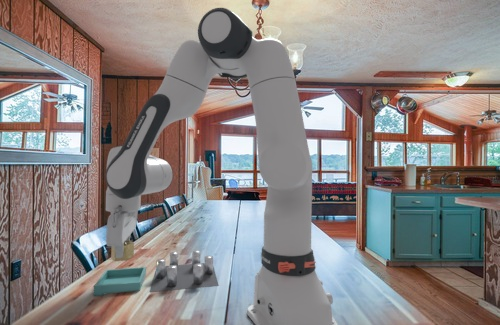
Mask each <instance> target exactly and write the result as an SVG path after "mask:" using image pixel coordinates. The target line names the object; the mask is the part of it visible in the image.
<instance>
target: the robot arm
mask: <svg viewBox="0 0 500 325" xmlns="http://www.w3.org/2000/svg"><path fill="white" fill-rule="evenodd" d="M197 36H198V41H197V40H186V41H184V42H183V43H181V45H180V46H179V47H178V49H177V51H176V52H175V54H174V55H173V58H172V59H171V61H170V63H169V66H168V68H167V70H166V73H165V75H164V78H163V79H162V82H161V85H160V86H159V88H158V89H157V90H156V92H155V93H154V94H153V95H152V96H150V97H149V98H148V100H147V101H146V102H145V104H144V105H143V107H142V108H141V110H140V112H139V114H138V115H137V117H136V119H135V122H134V123H133V125H132V127H131V128H130V131H129V132H128V135H127V137H126V139H125V141H124V143H123V144H121V145H117V146H114V147H112V148H110V150H109V152H108V155H107V161H106V171H105V183H106V186H107V188H106V190H105V212H110V215H109V216H108V217H107V224H106V235H105V236H106V237H105V242H106V243H105V244H106V246H107V247H111V246H114V247H115V251H116V258H122V257H123V256H124V242H125V241H131V240H130V239H131V234H132V233H133V232H134V231H135V230H136V227H137V223H138V215H139V210H141V204H142V203H141V198H142V196H144V195H149V194H153V193H154V194H155V193H159V192H161V191H162V192H163V191H165V190H167V189H168V188H169V187H170V185H171V184H172V182H173V179H174V173H173V172H174V171H173V168H172V165H171V164H170V163H169V161H167V160H165V159H162V158H159V157H156V156H155V155H152V154H151V152H152V151H153V148H154V146H155V145H156V143H157V140H158V139H159V137H160V135H161V133H162V132H163V131H164V129H166V127H167V126H169V125H170V124H172V123H174V122H178V121H180V120H185V119H188V118H191V117H192V116H195V115H196V114H197V112H198V111H199V109H200V108H201V106H202V104H203V102H204V99H205V97H206V94H207V92H208V89H209V86H210V83H211V82H212V80H213V78H215V76H216V75H219V77H220V78H230V79H231V78H232V79H247V81H248V86H249V93H250V97H251V103H252V110H253V114H254V115H253V116H254V119H255V128H256V143H257V144H256V146H257V154H258V155H257V156H258V157H257V158H258V170H259V174H260V177H261V178H262V180H263V181H264V182H265V184H266V185H267V192H266V199H265V206H264V212H263V213H264V214H263V246H261V252H260V258H261V260H260V262H261V267H260V269H259V271H258V272H256V274H255V276H254V279H255V280H254V287H253V288H254V289H253V290H254V291H253V304H251V305H249V306H248V307H247V308H246V315H247V316H248V317H249V318H250V320H252V322H253V324H254V325H339V324H338V322H337V321H336V319H335V317H334V316H333V311H332V305H333V302H334V301H333V294H332V293H331V292H325V289H324V287H323V284H324V283H323V281H322V280H321V279H320V278H319V277H318V274H317V273H316V268H317V265H316V264H317V263H316V261H315V260H316V259H315V255H314V250H313V249H312V208H313V207H312V206H313V161H312V158H311V154H310V149H309V145H308V140H307V139H308V138H307V133H306V127H305V123H304V118H303V111H302V105H301V102H300V96H299V92H298V87H297V83H296V82H297V81H296V77H295V73H294V68H293V65H292V62H291V60H290V57H289V54H288V52H287V50H286V47H285V45H284V44H283V43H282V42H281V41H280V40H278V39H275V38H264V39H256V38H254V37H253V31H252V30H251V28H249V26H248V25H247V24H246V23H245V22H244V21H243V20H242V19H241V18H240V17H239V16H238V15H237V14H236V13H235V12H233V11H231V10H230V9H228V8H225V7H215V8H212V9H210V10H208V11H207V12H205V14H203V16H202V18H201V19H200V21H199V24H198V28H197Z"/></svg>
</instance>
